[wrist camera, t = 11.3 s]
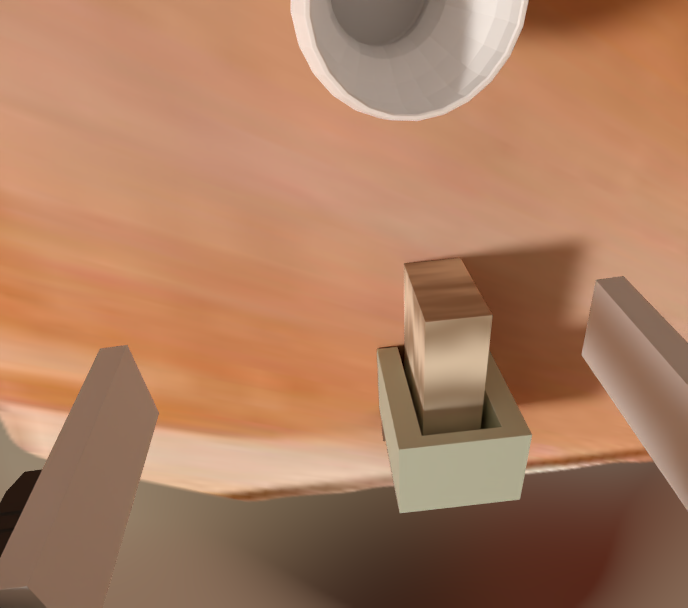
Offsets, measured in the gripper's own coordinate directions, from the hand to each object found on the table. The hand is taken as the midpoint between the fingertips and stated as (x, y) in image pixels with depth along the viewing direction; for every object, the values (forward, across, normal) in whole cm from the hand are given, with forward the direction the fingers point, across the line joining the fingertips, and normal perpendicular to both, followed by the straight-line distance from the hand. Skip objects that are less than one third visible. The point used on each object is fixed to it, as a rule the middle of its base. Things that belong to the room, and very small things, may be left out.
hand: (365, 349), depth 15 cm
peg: (+28, +7, -22) cm, 36 cm away
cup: (+28, +4, +7) cm, 29 cm away
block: (+27, +7, -28) cm, 39 cm away
